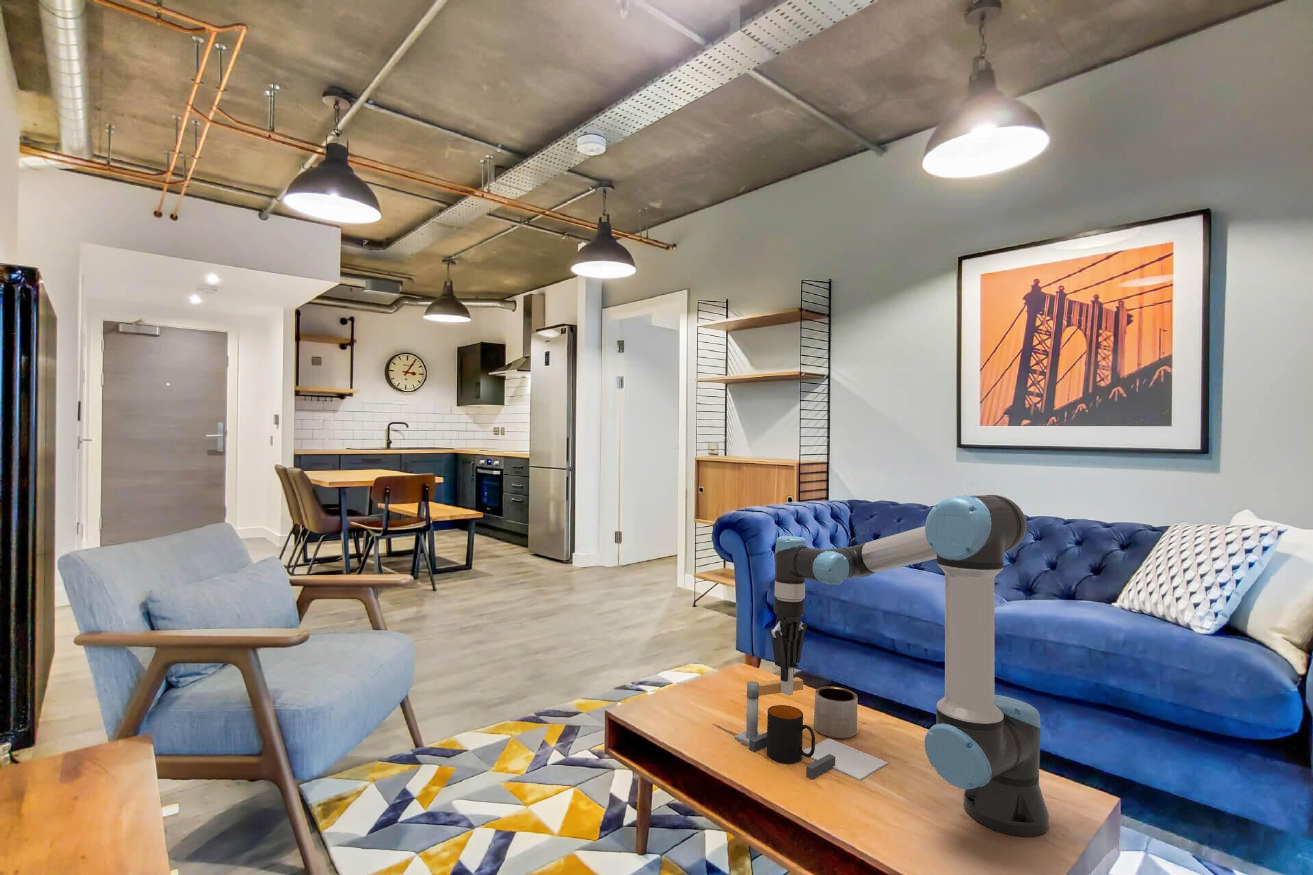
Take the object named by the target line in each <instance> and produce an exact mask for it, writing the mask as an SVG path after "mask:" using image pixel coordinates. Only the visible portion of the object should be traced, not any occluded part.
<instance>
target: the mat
mask: <svg viewBox="0 0 1313 875" xmlns="http://www.w3.org/2000/svg"><path fill="white" fill-rule="evenodd" d="M802 750H803V752H804V753H806V754H809V753H810V751H811V746H810V747H808V748H805V749H802ZM828 754H831V755H833V756H835V766H833V770H836V771H838V772H839V773H842V774H845V775H847V776H849V777H851V778H852V779H855V780H858V781H862V780H863V779H866V778H867V777H869V776H871V775H873V773H875V772H877V771H878V770H880V769H883V768H884V767H885V766H887V765H888V764H889V762H887V761H886V760H882V759H880V758H879V757H875V756H873V755H871V754H868V753H866V752H864V751H860V750H859V749H856V748H853V747H851V746H848V745H847V744H844V743H842V742H839V741H837V740H834V739H833V738H830V737H828V738H826V739H824V740H822V741H820V742H818V743H815V751H814V754H813V755H812V756H811V757H807V758H809V759H811V760H814V762H815V761H817V760H819V759H821V758H823V757H825V756H826V755H828Z"/></svg>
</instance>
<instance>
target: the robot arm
mask: <svg viewBox="0 0 1313 875" xmlns="http://www.w3.org/2000/svg"><path fill="white" fill-rule="evenodd" d="M1026 532H1027V520H1026V516H1025V514H1024V512H1023V511H1022V509H1021V508H1020V506H1019V505H1018V504H1017V503H1015V502H1014V501H1013V500H1011V499H1009V497H1008V498H1007V497H1006V496H1003V495H997V494H986V495H982V494H981V495H966V494H964V495H957V496H953V497H948V498H945V499H942V500H941V501H939V502H938V503H937V504H936V505H934V506H933V507H932V508H931V510H930V511H929V513H928V514H927V517H926V520H925V523H924V526H920V527H917V528H916V527H915V528H914V529H910V530H906V531H902V532H899V533H895V534H892V535H889V536H888V535H887V536H885V537H881V538H878V539H875V540H871V541H868V542H864V543H859V544H856V545H853V546H847V547H838V548H837V547H836V548H827V549H819V548H811V547H808V546H807V540H806V538H804V537H802V536H796V535H780V536H777V538H776V541H775V542H776V543H775V549H774V550H775V551H774V594H773V596H774V597H775V598H774V599H773V612H774V613H775V615H776V621H775V626H774V628H770V629H769V630H768V633H769V636H770V638H771V643H772V652H773V661H774V665H775V666H776V667H779V668H780V676H779V677H780V679H781V693H780V694H784V695H787V696H793V695H794V691H793V678H795V668H796V669H797V668H798V667H799V664H800V663H801V662H800V661H801V657H802V653H803V652H802V650H803V644H804V639H805V632H806V630H807V627H808V624H807V623H804V622H802V617H803V616H804V615H805V603H806V602H805V601H804V599H805V597H806V580H810V581H814V582H819V583H822V584H824V585H833V586H834V585H835V586H839V585H841V584H842V583H844V581H846V580H847V579H852V578H864V577H869V576H872V575H875V574H878V573H881V572H885V571H889V570H893V569H894V570H895V569H896V568H897V569H898V568H903V567H906V566H911V565H915V564H919V563H923V562H927V561H931V560H936V565H937V566H938V567H939V568H940V569H941V570H942V571H943V573H944V584H945V585H944V652H945V653H944V696H943V697H942V698H941V699H940V700H938V701H937V702H936V708H935V709H936V716H935V717H936V718H935V719H936V721H935V722H936V723H935V724H933V725H932V726H931V727H930V728H929V730H928V731H927V732H926V734H925V737H924V750H925V751H924V752H925V754H926V757H927V760H928V762H929V763H930V765H931V766H932V767H933V768H934V769H935V771H936V772H937V775H938V776H940V777H941V778H942V779H943V780H944V781H945V782H947V783H948V784H949V785H952V786H953V787H954V788H955V787H956V788H958V789H962V790H964V792H963V807H964V810H965V812H966V813H967V814H968V815H969V817H971V818H973V820H975V821H976V822H977V823H980V824H981V825H982V826H985V827H987V828H990V829H991V830H995V831H997V832H1000V833H1003V834H1006V835H1007V834H1008V835H1012V836H1016V835H1017V837H1037V836H1041V835H1043V834H1045V833H1046V832H1047V831H1048V830H1047V829H1049V823H1050V822H1049V818H1050V815H1049V812H1048V809H1047V806H1046V803H1045V802H1046V801H1045V800H1044V797H1043V796H1044V795H1043V793H1042V790H1041V787H1040V761H1041V760H1040V758H1041V730H1042V726H1041V716H1040V712H1039V711H1038V709H1036V707H1035V706H1033V705H1031V704H1029V703H1027V702H1024V701H1022V700H1019V699H1016V698H1012V697H1009V696H1005V695H998V694H995V585H996V584H995V581H996V580H995V578H996V576H997V575H999V574H1000V573H1001V572H1002V571H1004V559H1005V558H1004V554H1005V553H1006V552H1009V551H1012V550H1013V549H1015V548H1016V547H1018V546H1019V545H1020V544H1021V543H1022V541H1023V539H1024V538H1025V535H1026ZM1045 831H1046V832H1045ZM1044 832H1045V833H1044ZM1042 833H1043V834H1042ZM1036 835H1037V836H1036Z"/></svg>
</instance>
